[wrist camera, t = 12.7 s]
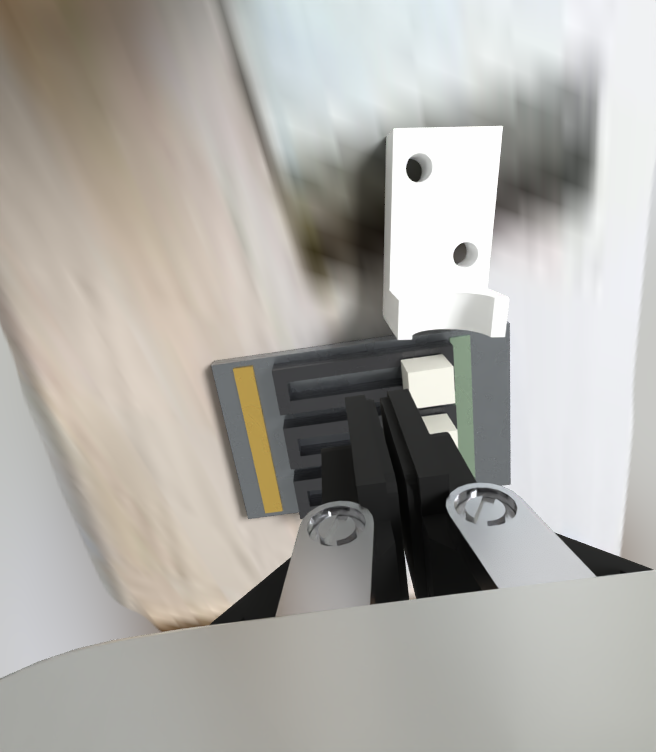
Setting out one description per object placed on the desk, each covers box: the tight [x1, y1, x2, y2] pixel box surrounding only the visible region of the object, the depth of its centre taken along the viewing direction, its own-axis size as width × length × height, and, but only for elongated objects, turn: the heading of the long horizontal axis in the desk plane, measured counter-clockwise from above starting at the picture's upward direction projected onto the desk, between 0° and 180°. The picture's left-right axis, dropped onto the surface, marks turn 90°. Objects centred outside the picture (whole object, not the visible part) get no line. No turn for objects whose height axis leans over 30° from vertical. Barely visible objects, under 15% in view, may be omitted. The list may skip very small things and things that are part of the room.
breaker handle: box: [401, 354, 455, 408], centre depth 34 cm, size 3×3×5 cm
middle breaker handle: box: [422, 413, 458, 448], centre depth 36 cm, size 3×3×5 cm
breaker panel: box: [211, 322, 511, 519], centre depth 38 cm, size 15×24×3 cm, turn 98°
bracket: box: [383, 126, 509, 340], centre depth 31 cm, size 13×7×8 cm, turn 1°
